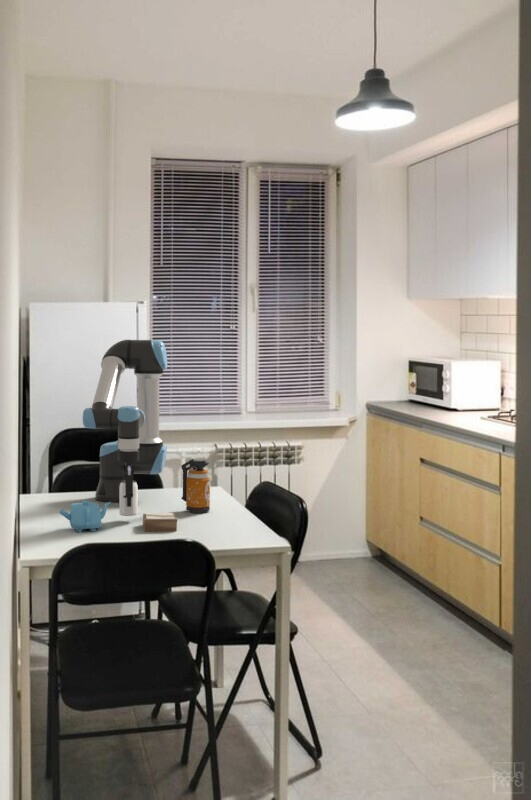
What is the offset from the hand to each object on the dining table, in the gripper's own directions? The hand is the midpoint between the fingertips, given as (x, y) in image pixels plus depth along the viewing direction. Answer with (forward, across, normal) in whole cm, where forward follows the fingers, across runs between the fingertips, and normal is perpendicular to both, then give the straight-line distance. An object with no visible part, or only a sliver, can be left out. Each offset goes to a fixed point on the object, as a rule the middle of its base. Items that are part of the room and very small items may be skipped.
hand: (128, 512), depth 326 cm
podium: (+3, +12, +10) cm, 16 cm away
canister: (+4, -15, +26) cm, 30 cm away
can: (+1, 0, 0) cm, 1 cm away
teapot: (+3, +11, -15) cm, 19 cm away
